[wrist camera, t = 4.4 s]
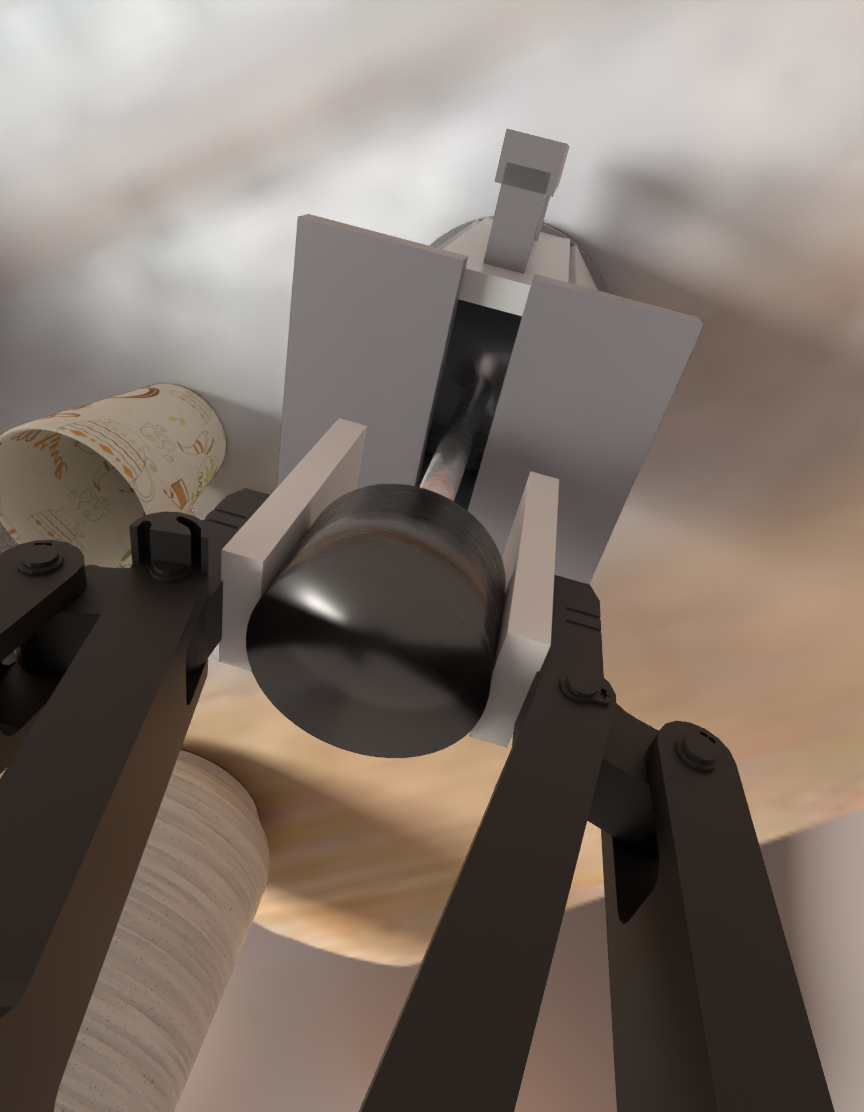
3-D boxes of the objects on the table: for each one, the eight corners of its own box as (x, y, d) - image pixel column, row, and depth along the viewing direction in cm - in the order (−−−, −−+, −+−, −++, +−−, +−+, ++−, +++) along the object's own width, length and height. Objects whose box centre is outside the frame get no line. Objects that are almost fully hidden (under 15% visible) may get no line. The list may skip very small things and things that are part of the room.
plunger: (385, 437, 27) (184, 740, 13) (415, 269, 23) (177, 445, 9) (538, 480, 27) (500, 835, 13) (594, 317, 23) (627, 572, 9)
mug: (210, 348, 34) (94, 410, 26) (291, 544, 40) (218, 645, 32) (88, 377, 37) (-54, 443, 28) (182, 558, 43) (88, 656, 34)
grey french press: (379, 409, 34) (271, 551, 22) (430, 111, 27) (308, 77, 14) (568, 461, 34) (565, 635, 22) (674, 174, 26) (761, 193, 14)
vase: (61, 698, 54) (-491, 1283, 26) (287, 748, 52) (-49, 1445, 24) (106, 836, 65) (-245, 1350, 37) (294, 883, 63) (71, 1464, 35)
